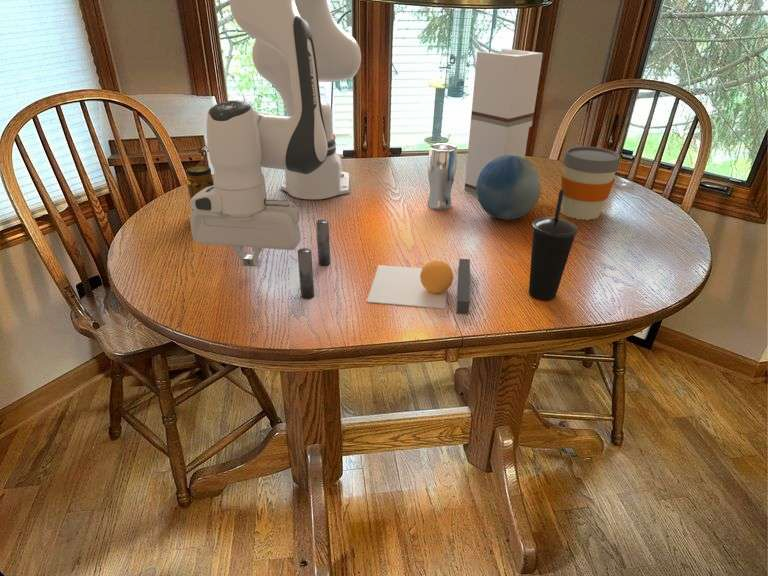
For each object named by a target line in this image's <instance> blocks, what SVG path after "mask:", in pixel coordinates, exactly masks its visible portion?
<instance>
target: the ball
mask: <svg viewBox="0 0 768 576" xmlns="http://www.w3.org/2000/svg"><path fill="white" fill-rule="evenodd" d="M422 268H423V269H422V271H421V274H420V279H421V283H422V285H423V286H424V288H425V289H426V290H428V291H430V292H432V293H441V292H444V291H446V290H448V289H449V288H450V287H451V286H452V284H453V281H454V272H453V270H452V268H451V266H450V265H449V264H448V263H447V262H445V261H442V260H438V259H437V260H435V259H434V260H431V261H429V262H427V263H426V264H424V266H423V267H422Z"/></svg>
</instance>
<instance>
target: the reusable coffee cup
mask: <svg viewBox="0 0 768 576" xmlns="http://www.w3.org/2000/svg"><path fill="white" fill-rule="evenodd" d="M620 157H621V155H620V154H619V153H618V152H616V151H614V150H610V149H607V148H603V147H596V146H595V147H594V146H572V147H569V148H567V149H566V151H565V154H564V157H563V161H562V164H563V171H562V173H561V181H560V182H561V183H560V190H564V193H563V198H562V204H561V209H560V212H561V213H562V214H563V215H564V214H565V215H564V216H566V217H568V216H569V217H568V218H570V217H572V218H571V219H574V218H576V219H575V220H579V219H583V220H582V221H591V220H590V219H593V220H596V219H598V218H599V217H600V214H601V212H602V209H603V206H604V203H605V201H606V200H607V199H608V198H609V196H610V194H611V190H612V188H613V186H614V182H615V178H614V177H615V174H616V172H617V171H618V170H619V164H620ZM598 216H599V217H598ZM597 217H598V218H597ZM595 218H596V219H595ZM584 219H585V220H584Z"/></svg>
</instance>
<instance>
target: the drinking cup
mask: <svg viewBox="0 0 768 576" xmlns="http://www.w3.org/2000/svg"><path fill="white" fill-rule="evenodd" d="M563 193H564V190H561V189H559V192H558V197H557V203H556V209H555V213H554V216H547V217H545V216H544V217H540V218H536V219H535V220H533V222H532V223H531V228H532V239H531V240H532V242H531V253H530V254H531V255H530V271H529V284H528V285H529V286H528V294H529V296H530V297H531V298H533V299H536V300H538V301H542V302H547V301H548V302H549V301H552V300H555V298H556V297H557V293H558V290H559V286H560V283H561V280H562V278H563V275H564V272H565V268H566V265H567V262H568V258H569V255H570V253H571V249H572V247H573V243H574V240H575V237H576V235H577V234H578V232H579V227H578V226H577V224H575V223H573V222H572V221H569V220H567V219H565V218H562V217H560V214H561V210H562V198H563Z"/></svg>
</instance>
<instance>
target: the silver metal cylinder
mask: <svg viewBox="0 0 768 576" xmlns="http://www.w3.org/2000/svg"><path fill="white" fill-rule="evenodd" d="M457 152H458V147H457V146H456V145H454V144H451V143H435V144H433V143H432V144H431V145H429V151H428V159H427V174H428V182H429V196H428V201H427V207H428V208H429V209H431V210H438V211H445V210H449V209H450V208H451V207H452V195H451V194H452V189H453V185H454V181H455V176H456V171H457V163H458V161H457V160H458V153H457Z"/></svg>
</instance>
